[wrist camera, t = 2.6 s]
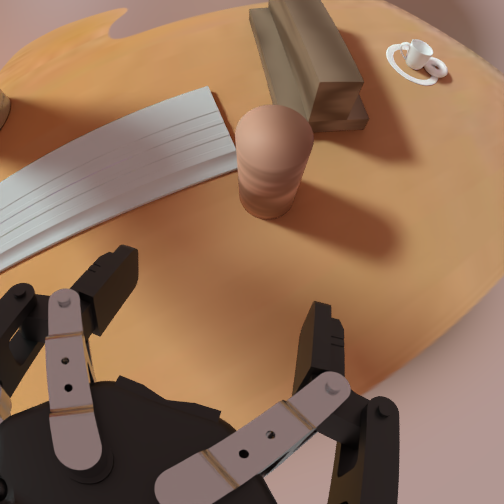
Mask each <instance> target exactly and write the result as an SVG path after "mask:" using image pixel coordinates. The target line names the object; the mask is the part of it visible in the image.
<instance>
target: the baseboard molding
mask: <svg viewBox="0 0 504 504" xmlns="http://www.w3.org/2000/svg"><path fill="white" fill-rule="evenodd" d="M235 170H238V168H237V154H236V148H235V146H234V144H233V142H232V139H231V137H230V134H229V132H228V130H227V128H226V126H225V123H224V121H223V118H222V117H221V114H220V112H219V109H218V107H217V105H216V103H215V101H214V98H213V96H212V94H211V92H210V89H209V87H208V86H206V87H203V88H200V89H197V90H194V91H190V92H187V93H185V94H182V95H179V96H176V97H173V98H170V99H167V100H165V101H162V102H159V103H157V104H154V105H151V106H149V107H146V108H144V109H141V110H139V111H136V112H134V113H131V114H129V115H127V116H124V117H122V118H120V119H117V120H115V121H113V122H111V123H108V124H106V125H104V126H102V127H100V128H97V129H95V130H93V131H91V132H89V133H87V134H85V135H83V136H81V137H79V138H77V139H75V140H73V141H71V142H69V143H67V144H65V145H63V146H61V147H59V148H58V149H56V150H54V151H52V152H50V153H48V154H47V155H45V156H43V157H41V158H39V159H38V160H36V161H34V162H33V163H31V164H29V165H27V166H26V167H24V168H23V169H21V170H19V171H18V172H16V173H14V174H13V175H11V176H10V177H8V178H6V179H5V180H3V181H2V182H0V272H2V271H4V270H6V269H7V268H9V267H11V266H13V265H15V264H17V263H19V262H21V261H23V260H25V259H27V258H29V257H30V256H32V255H34V254H36V253H38V252H40V251H42V250H44V249H46V248H49V247H51V246H53V245H55V244H57V243H59V242H61V241H63V240H65V239H67V238H69V237H71V236H74V235H76V234H78V233H80V232H82V231H84V230H87V229H89V228H91V227H93V226H95V225H98V224H100V223H102V222H104V221H107V220H109V219H111V218H114V217H116V216H118V215H121V214H123V213H125V212H128V211H130V210H132V209H135V208H137V207H140V206H142V205H145V204H147V203H149V202H152V201H154V200H157V199H159V198H162V197H164V196H167V195H170V194H172V193H175V192H177V191H180V190H183V189H185V188H188V187H190V186H193V185H196V184H199V183H201V182H204V181H207V180H209V179H212V178H215V177H218V176H221V175H223V174H226V173H229V172H232V171H235Z"/></svg>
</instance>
